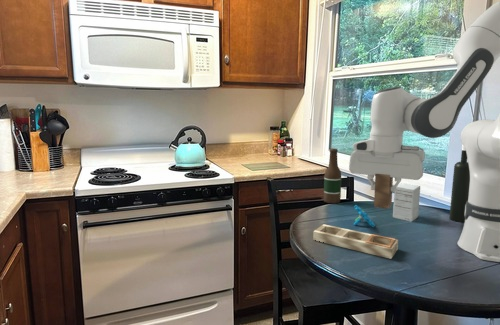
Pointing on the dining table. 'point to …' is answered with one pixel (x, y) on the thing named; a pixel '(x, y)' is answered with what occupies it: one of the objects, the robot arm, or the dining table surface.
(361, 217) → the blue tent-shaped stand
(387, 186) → the peg
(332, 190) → the beer bottle
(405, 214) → the supplement box
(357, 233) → the wooden compartment tray
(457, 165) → the wine bottle
